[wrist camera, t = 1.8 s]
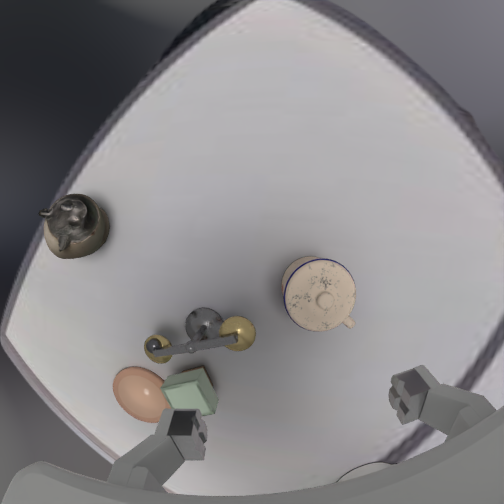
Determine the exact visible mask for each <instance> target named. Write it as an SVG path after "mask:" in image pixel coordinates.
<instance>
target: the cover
mask: <svg viewBox="0 0 504 504" xmlns="http://www.w3.org/2000/svg"><path fill="white" fill-rule="evenodd" d="M160 389H161V391H162V393H163V395H164V396H165V398H166V400H167V402H168V404H169V405H170V407H171V409H200V412H201V414H202V416H206V415H211V414H215V411H216V407H217V404H218V400H219V399H218V397H217V395H216V393H215V391H214V389H213V387H212V385H211V383H210V381H209V379H208V377H207V375H206V373H205V371H204V369H203V368H200V369H196V370H192V371H188V372H184V373H180V374H175V375H171V376H168V377H167V379H166V380H165V382H164V383H163V385H162V386H161V387H160Z"/></svg>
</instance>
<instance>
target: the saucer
mask: <svg viewBox="0 0 504 504" xmlns="http://www.w3.org/2000/svg"><path fill="white" fill-rule="evenodd" d="M163 383H164V381H163V379H161V378H160V377H159V376H158V375H156V374H155V373H153V372H152V371H150V370H148V369H145V368H141V367H128V368H125V369H123V370H122V371H121V372H119V373H118V374H117V376H116V377H115V379H114V382H113V391H114V395H115V397H116V399H117V401H118V403H119V404H120V406H121V407H122V408H123V409H124V410H125V411H126V412H127V413H128V414H130V415H131V416H133V417H134V418H136V419H138V420H141V421H144V422H149V423H156V422H159V420H160V417H161V414H162V411H163V410H164V409H165V408H168V409H171V407H170V405H169V404H168V402H167V400H166V398H165V396H164V395H163V393H162V391H161V389H160V387H161V386H162V385H163Z"/></svg>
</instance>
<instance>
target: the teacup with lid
mask: <svg viewBox="0 0 504 504" xmlns="http://www.w3.org/2000/svg"><path fill="white" fill-rule="evenodd" d="M282 293H283V296H284V304H285V308H286V311H287V313H288V315H289V316H290V318H291V319H292V320H293V321H294V322H295V323H296V324H297V325H298V326H300V327H302V328H304V329H306V330H310V331H326V330H330V329H332V328H335V327H337V326H338V325H340V324H341V323H343V324H345V325H346V326H347V327H348V328H353V326H354V325H355V321H354V320H353V319H352V318H351V317H350V316H349V314H350V313H351V311H352V309H353V307H354V304H355V299H356V288H355V283H354V280H353V278H352V276H351V274H350V273H349V271H348V270H347V269H346V268H345V267H344V266H343V265H341V264H340V263H338V262H336V261H333V260H330V259H321V258H318V257H303V258H300V259H298V260H296V261H295V262H293V263H292V264H291V265H290V266H289V267H288V268H287V270H286V271H285V273H284V275H283V278H282Z"/></svg>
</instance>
